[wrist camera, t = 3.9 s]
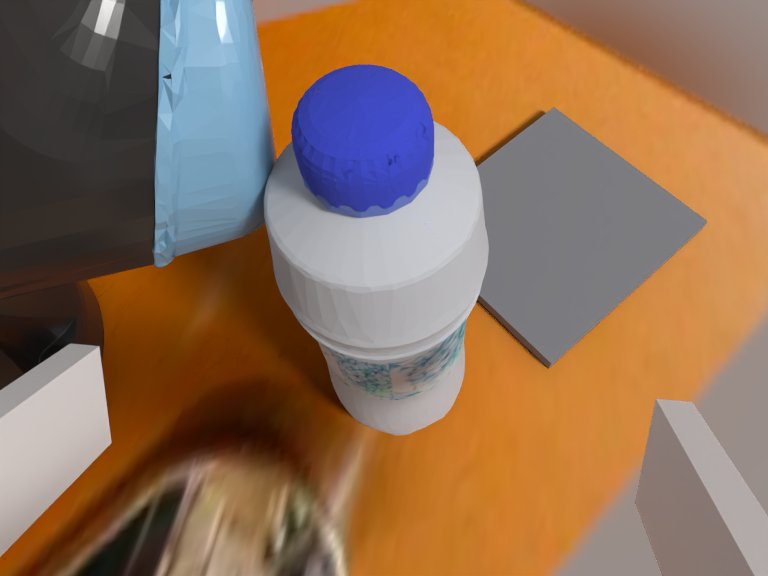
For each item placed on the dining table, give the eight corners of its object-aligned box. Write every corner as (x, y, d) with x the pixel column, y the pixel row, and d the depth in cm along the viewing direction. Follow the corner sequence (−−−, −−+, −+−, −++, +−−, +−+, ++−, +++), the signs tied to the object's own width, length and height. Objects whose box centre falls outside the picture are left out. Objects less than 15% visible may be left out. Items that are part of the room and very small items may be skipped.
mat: (404, 230, 35) (403, 223, 35) (551, 116, 38) (553, 107, 38) (548, 368, 31) (551, 363, 31) (701, 229, 34) (707, 221, 33)
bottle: (333, 323, 33) (219, 6, 15) (460, 316, 33) (494, -17, 15) (333, 450, 30) (191, 243, 12) (472, 444, 30) (533, 221, 12)
